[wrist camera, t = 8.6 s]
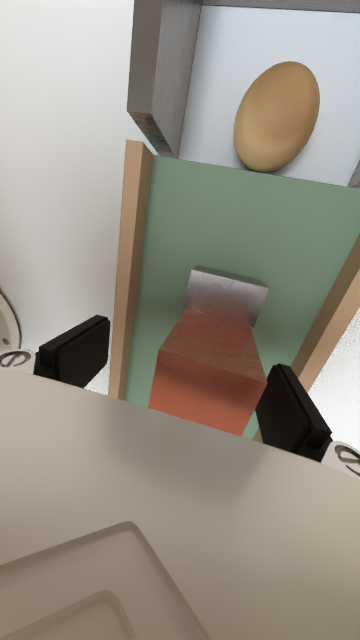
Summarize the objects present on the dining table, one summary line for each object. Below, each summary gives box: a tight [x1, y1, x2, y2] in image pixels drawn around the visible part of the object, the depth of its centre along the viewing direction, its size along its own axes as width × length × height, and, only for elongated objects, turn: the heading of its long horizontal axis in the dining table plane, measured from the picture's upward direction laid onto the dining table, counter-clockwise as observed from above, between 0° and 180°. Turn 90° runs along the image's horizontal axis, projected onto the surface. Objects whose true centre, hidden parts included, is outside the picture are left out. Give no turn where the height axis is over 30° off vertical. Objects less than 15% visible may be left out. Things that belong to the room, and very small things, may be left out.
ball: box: [234, 62, 320, 173], centre depth 10 cm, size 4×4×4 cm
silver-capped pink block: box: [148, 266, 269, 437], centre depth 11 cm, size 7×4×8 cm, turn 167°
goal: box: [127, 0, 360, 189], centre depth 9 cm, size 8×13×5 cm, turn 77°
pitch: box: [108, 140, 360, 443], centre depth 16 cm, size 24×15×3 cm, turn 167°
